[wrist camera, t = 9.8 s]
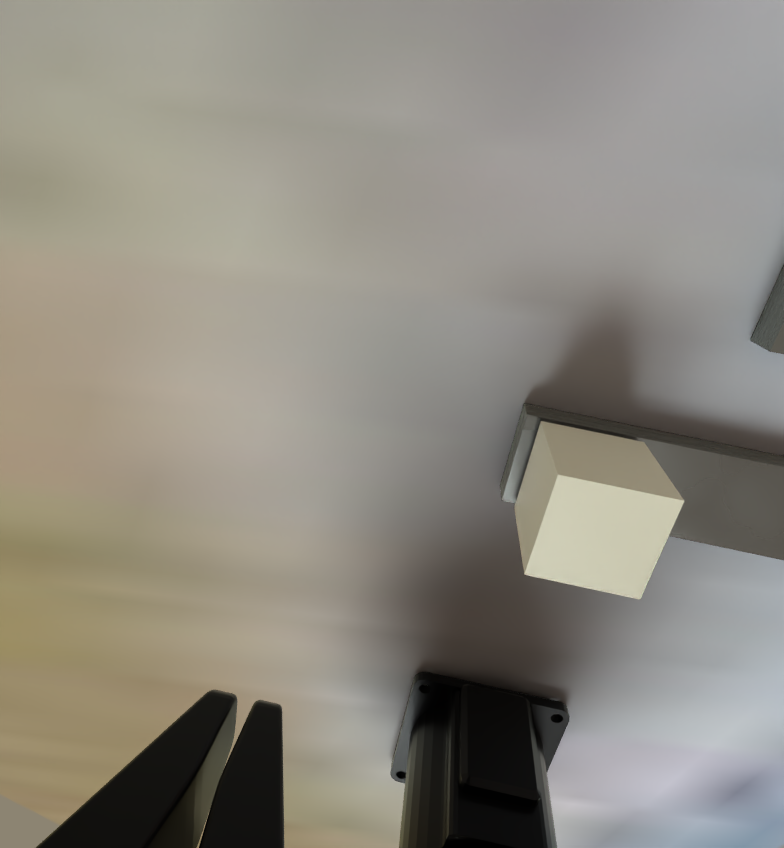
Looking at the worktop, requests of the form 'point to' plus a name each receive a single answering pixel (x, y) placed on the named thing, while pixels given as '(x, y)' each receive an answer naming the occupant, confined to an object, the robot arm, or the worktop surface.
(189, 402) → the worktop surface
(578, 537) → the block
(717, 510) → the ram rail
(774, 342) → the plate
